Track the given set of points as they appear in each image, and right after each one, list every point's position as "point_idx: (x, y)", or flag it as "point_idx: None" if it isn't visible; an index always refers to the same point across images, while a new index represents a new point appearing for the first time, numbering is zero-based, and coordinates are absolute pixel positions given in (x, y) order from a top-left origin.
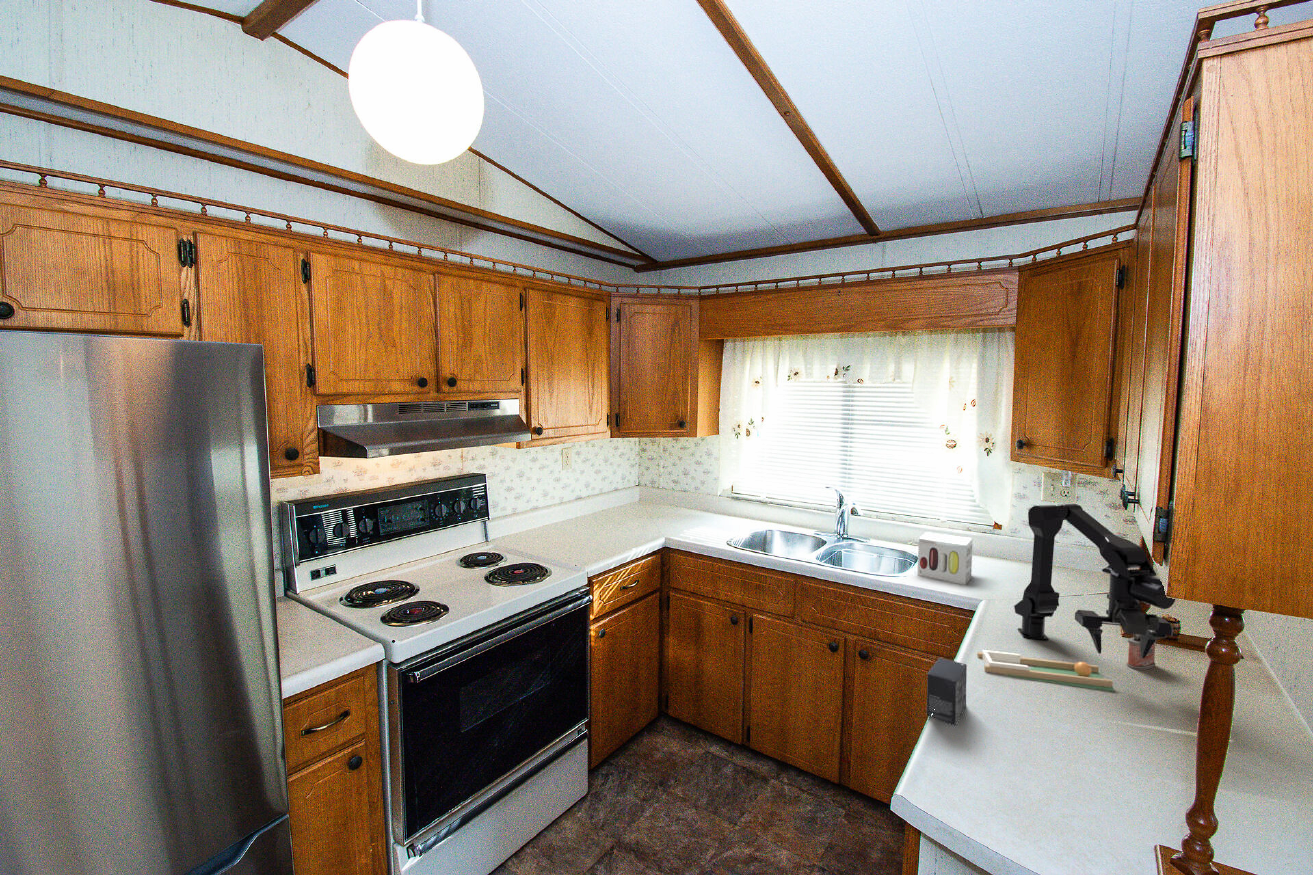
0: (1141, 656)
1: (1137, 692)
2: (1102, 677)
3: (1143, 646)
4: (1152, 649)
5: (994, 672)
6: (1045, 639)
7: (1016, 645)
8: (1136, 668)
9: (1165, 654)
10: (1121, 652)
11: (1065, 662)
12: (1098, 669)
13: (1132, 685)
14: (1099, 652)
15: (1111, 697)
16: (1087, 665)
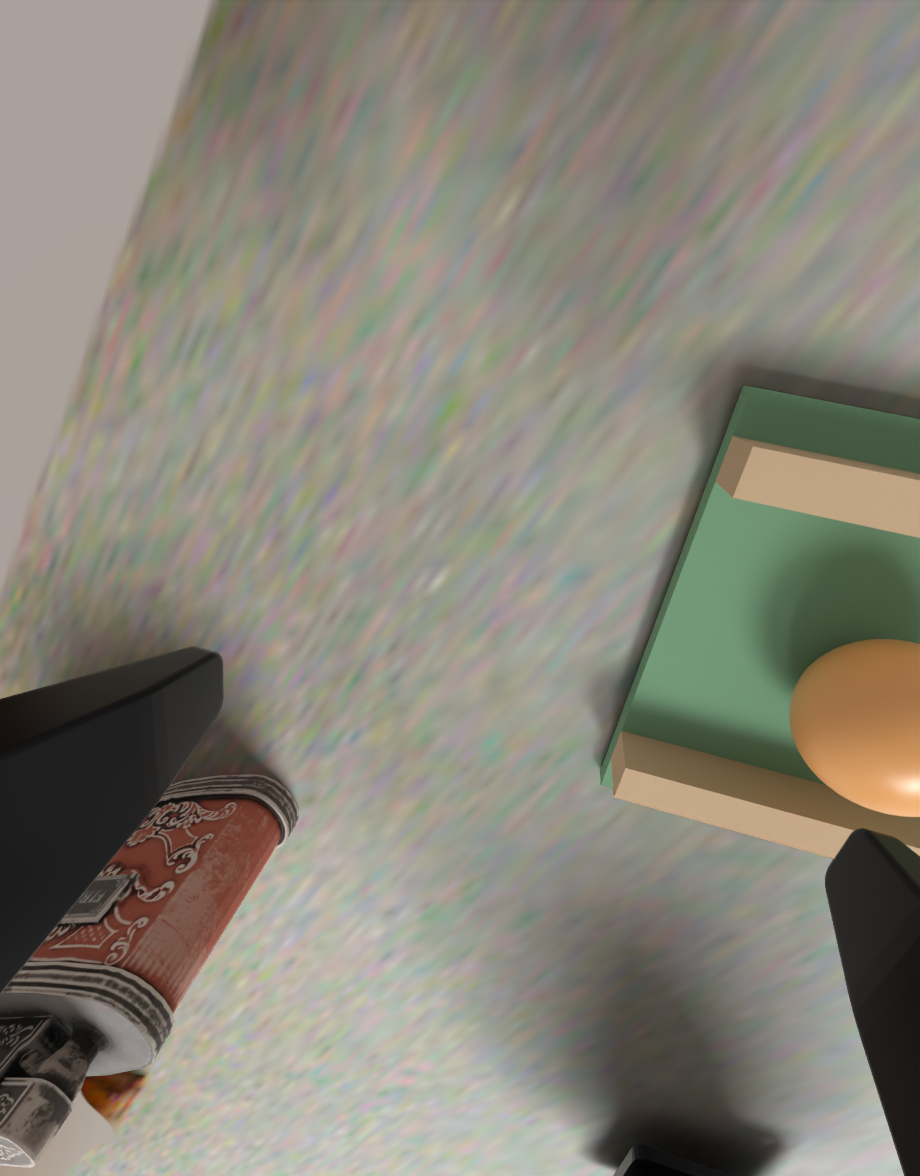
0: (216, 692)
1: (491, 395)
2: (656, 647)
3: (38, 815)
4: None
5: None
6: (659, 1153)
7: None
8: (256, 783)
9: None
10: (232, 961)
11: None
12: (623, 751)
13: (445, 539)
14: (905, 847)
15: (913, 213)
16: (913, 725)
